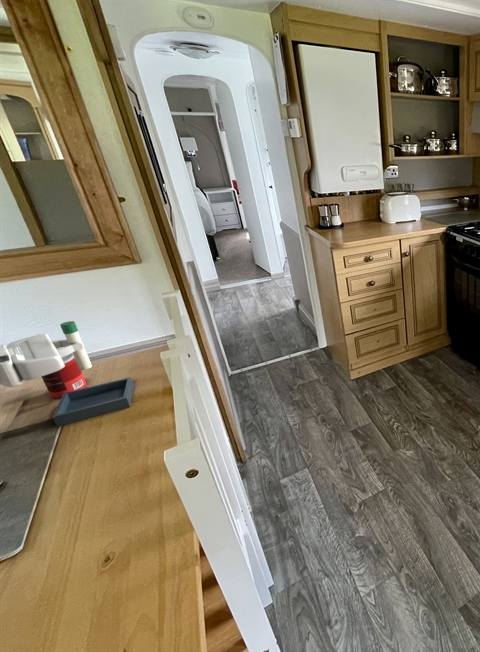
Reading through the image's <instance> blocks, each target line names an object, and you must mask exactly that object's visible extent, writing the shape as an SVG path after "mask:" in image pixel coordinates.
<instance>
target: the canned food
mask: <svg viewBox="0 0 480 652" xmlns="http://www.w3.org/2000/svg"><path fill="white" fill-rule="evenodd" d="M61 358H62V360H63V362H64V365H65V367H64V368H62V369H60V370H58V371H56V372H53V373H50V374H48V375H45V376H42V377H41V379H42V381H43V383H44V385H45V387H46V390H47V392H48V393H49V395H50V396H51V397H52V398H53V399H61V398H62V396H63V394H64V393H66V392H70V391H74V390H78V389H83V388H87V382H86V379H85V376H84V375H83V372H82V370H80V369H79V367H78V365H77V362H76V360H75V358H74V355H73V353H71V354H69V355H67V356H64V357H61Z"/></svg>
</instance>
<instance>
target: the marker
mask: <svg viewBox="0 0 480 652" xmlns="http://www.w3.org/2000/svg"><path fill="white" fill-rule="evenodd" d="M59 326H60V328H61V331H62V333H63V335H64V336H65V339H67V341H68V343H69V345H71V344H72V343H76V342H81V344H82V346H83V349H81V350H77V351H74V352H73V355H74V358H75V360H76V362H77V365H78V367H79V369H80V370H81V371H86V370H89V369H91V368H92V367H93V365H92V362H91V360H90V358H89V354H88V353H87V350H86V348H85V345H84V343H83V341H82V337H81V335H80V333H79V328H78V326H77V325H76V322H75V321H74V320H69V321H65V322H62V323H60V325H59Z"/></svg>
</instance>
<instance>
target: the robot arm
mask: <svg viewBox="0 0 480 652" xmlns="http://www.w3.org/2000/svg"><path fill="white" fill-rule="evenodd" d="M81 349H83V346H82V344H81V342H76V343H72V344H71V345H69V343H68V341H67V339H66V338H65V339H63V338H62V339H56V340H52V339H51V338H50V336H49V334H48V333H40V334H36V335H32V336H27V337H24V338H21V339H18V340H15V341H12V342H9V343H8V344H7V345H5V344H0V385H2V386H5V387H8V388H14V387H18V386H20V385H22V384H23V381H24V382H26V381H31V380H35V379H38V378H42V376H45V375H48V374H50V373H53V372H56V371H58V370H60V369H62V368H64V367H65V365H64V362H63V360H62V358H61V357H64V356H67V355H69V354H71V353H73V352H74V351H77V350H81Z"/></svg>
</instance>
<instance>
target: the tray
mask: <svg viewBox="0 0 480 652" xmlns="http://www.w3.org/2000/svg"><path fill="white" fill-rule="evenodd" d="M134 388H135V384H134V381H133V378H132V376H129V377H125V378H121V379H116V380H112V381H109V382H103V383H99V384H96V385H91V386H86V388H83V389H78V390H74V391H70V392H66V393H64V394H63V396H62V398H60V400H59V403H58V405H57V407H56V409H55V411H54V413H53V416H52V420H53V421H54V423H55V425H56V427H57V426H58V427H62V426H66V425H69V424H73V423H76V422H79V421H84V420H88V419H91V418H95V417H99V416H102V415H105V414H110V413H113V412H117V411H121V410H125V409H127V408H131V404H132V399H133V393H134Z"/></svg>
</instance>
